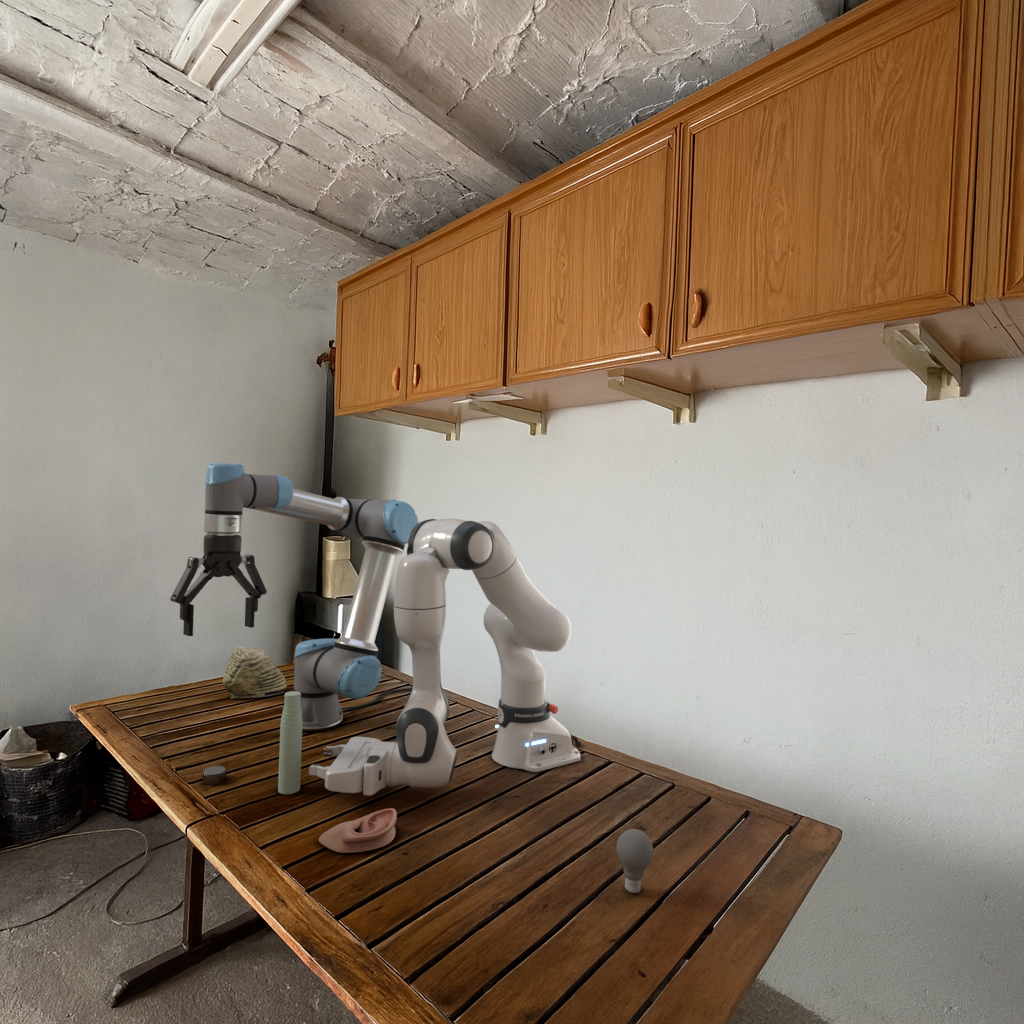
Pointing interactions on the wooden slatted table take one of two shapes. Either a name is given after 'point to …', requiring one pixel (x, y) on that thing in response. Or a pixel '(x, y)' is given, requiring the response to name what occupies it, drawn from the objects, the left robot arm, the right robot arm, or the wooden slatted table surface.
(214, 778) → the cap
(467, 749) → the wooden slatted table surface
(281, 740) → the bottle
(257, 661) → the fossil
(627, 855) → the light bulb
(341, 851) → the anatomical model
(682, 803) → the wooden slatted table surface
